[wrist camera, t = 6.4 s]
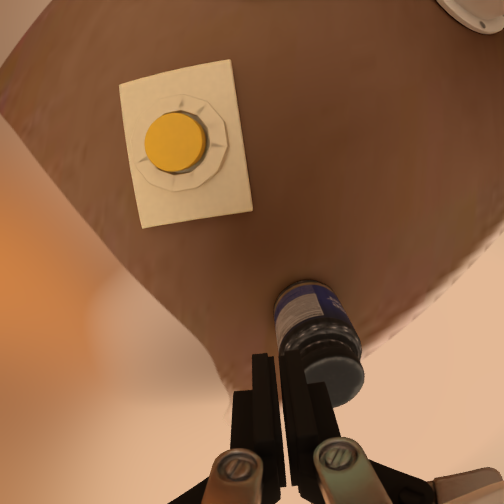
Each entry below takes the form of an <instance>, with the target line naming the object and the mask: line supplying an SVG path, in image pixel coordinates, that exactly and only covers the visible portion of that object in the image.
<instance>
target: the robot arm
mask: <svg viewBox="0 0 504 504" xmlns="http://www.w3.org/2000/svg"><path fill="white" fill-rule="evenodd" d="M436 1H437V2H438V3H439V4H440V5H441V6H442V7H443V8H444V9H445V10H446V11H447V12H448V13H449V14H450V15H451V16H452V17H453V18H455V19H456V20H457V21H458V22H460V23H461V24H463V25H464V26H466V27H467V28H469V29H471V30H473V31H476V32H479V33H481V34H493V33H496V32H499V31H501V30H502V29H503V28H504V0H436ZM279 368H280V379H281V391H282V403H283V414H284V422H285V431H286V440H287V448H288V456H289V465H290V475H291V484H292V486H298V490H299V493H300V496H301V497H302V498H304V499H306V500H308V501H309V502H311V504H504V481H503V479H502V476H501V474H500V472H498V471H497V470H496V469H494V468H490V467H486V468H481V469H476V470H472V471H468V472H464V473H459V474H454V475H449V476H443V477H438V478H435V479H434V480H433V481H428V482H426V481H424V480H422V479H419V478H416V477H413V476H410V475H408V474H405V473H402V472H400V471H397V470H394V469H392V468H389V467H387V466H384V465H382V464H379V463H376V462H374V461H372V460H369V459H368V458H367V456H366V454H365V453H364V451H363V449H362V447H361V446H360V445H359V444H358V443H357V442H356V441H354V440H353V439H350V438H346V437H341V435H340V432H339V428H338V424H337V421H336V418H335V414H334V411H333V407H332V404H331V400H330V397H329V393H328V390H327V387H326V384H325V382H324V381H323V382H317V383H310V384H307V381H306V377H305V372H304V368H303V363H302V359H301V355H300V351H299V349H298V350H290V351H284V355H281V356H279ZM252 387H253V390H246V391H234V393H233V408H232V425H231V443H230V450H227V451H225V452H223V453H222V454H220V455H219V456H218V457H217V458H216V459H215V461H214V463H213V466H212V469H211V472H210V476H209V477H207V478H206V479H205V480H203V481H202V482H200V483H199V484H197V485H196V486H194V487H193V488H191V489H190V490H188V491H187V492H185V493H184V494H182V495H181V496H179V497H178V498H176V499H174V500H173V501H171V502H170V503H168V504H275V503H277V502H278V501H279V500H280V495H281V492H280V487H286V475H285V463H284V452H283V440H282V431H281V421H280V411H279V401H278V392H277V383H276V373H275V364H274V356H272V357H268V355H267V353H263V354H252Z"/></svg>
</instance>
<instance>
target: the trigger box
mask: <svg viewBox="0 0 504 504" xmlns="http://www.w3.org/2000/svg"><path fill="white" fill-rule="evenodd" d="M119 90H120V99H121V108H122V116H123V124H124V131H125V138H126V145H127V151H128V157H129V163H130V169H131V175H132V181H133V186H134V191H135V197H136V202H137V207H138V212H139V216H140V221H141V226H142V228H148V227H154V226H160V225H166V224H172V223H178V222H184V221H190V220H196V219H203V218H209V217H216V216H222V215H229V214H236V213H243V212H250V211H253V203H252V196H251V190H250V183H249V176H248V169H247V162H246V155H245V149H244V142H243V135H242V128H241V122H240V115H239V108H238V102H237V95H236V89H235V82H234V75H233V69H232V63H231V60H230V59H229V60H223V61H217V62H211V63H205V64H200V65H195V66H190V67H185V68H181V69H176V70H172V71H168V72H163V73H159V74H155V75H152V76H148V77H144V78H141V79H137V80H133V81H130V82H127V83H123V84H120V85H119ZM168 113H182V114H185V115H187V116H189V117H191V118H193V119H194V120H196V121H197V122H198V123H199V124H200V125H201V127H202V128H203V130H204V133H205V136H206V147H205V150H204V153H203V155H202V157H201V158H200V160H199V161H198V162H197V163H196V164H194V165H193V166H191V167H190V168H187V169H184V170H180V171H175V172H169V171H164V170H161V169H159V168H157V167H156V166H155V165H153V164H152V162H151V161H150V160H149V158H148V157H147V154H146V151H145V145H144V143H145V136H146V133H147V130H148V129H149V127H150V125H151V124H152V123H153V122H154V121H155V120H156V119H157V118H159V117H161V116H163V115H165V114H168Z"/></svg>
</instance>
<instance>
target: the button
mask: <svg viewBox="0 0 504 504" xmlns="http://www.w3.org/2000/svg"><path fill="white" fill-rule="evenodd" d="M144 145H145V151H146V154H147V157H148V158H149V160H150V161H151V162H152V164H153V165H155V166H156V167H157V168H159V169H161V170H164V171H169V172H175V171H180V170H184V169H187V168H190V167H191V166H193V165H194V164H196V163H197V162H198V161H199V160H200V158H201V157H202V155H203V153H204V150H205V147H206V136H205V133H204V130H203V128H202V127H201V125H200V124H199V123H198V122H197V121H196V120H194V119H193V118H191V117H189V116H187V115H185V114H182V113H168V114H165V115H163V116H161V117H159V118H157V119H156V120H155V121H154V122H153V123H152V124H151V125H150V127H149V129H148V130H147V133H146V136H145V143H144Z"/></svg>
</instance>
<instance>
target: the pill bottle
mask: <svg viewBox="0 0 504 504" xmlns="http://www.w3.org/2000/svg"><path fill="white" fill-rule="evenodd" d="M274 321H275V329H276V337H277V344H278V352H279V356H281V355H284V351H290V350H298V349H299V351H300V355H301V359H302V363H303V368H304V372H305V377H306V381H307V384H310V383H317V382H323V381H324V382H325V384H326V387H327V390H328V393H329V397H330V400H331V404H332V407H333V408H334V407H338V406H340V405H343V404H345V403H347V402H348V401H350V400H351V399H352V398H353V397H355V396H356V395H357V393H358V392H359V391H360V389H361V387H362V386H363V383H364V370H363V367H362V365H361V363H360V358H361V353H362V348H361V342H360V339H359V337H358V335H357V333H356V331H355V329H354V327H353V326H352V324H351V322H350V320H349V318H348V316H347V314H346V312H345V311H344V309H343V307H342V305H341V304H340V302H339V300H338V298H337V296H336V295H335V293H334V292H333V290H332V289H331V288H330V287H328V286H327V285H325V284H322V283H319V282H318V281H315V280H303V281H299V282H296V283H294V284H292V285H290V286H288V287H287V288H286V289H284V290H283V291H282V292H281V293H280V295H279V296H278V298H277V300H276V303H275V305H274Z"/></svg>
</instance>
